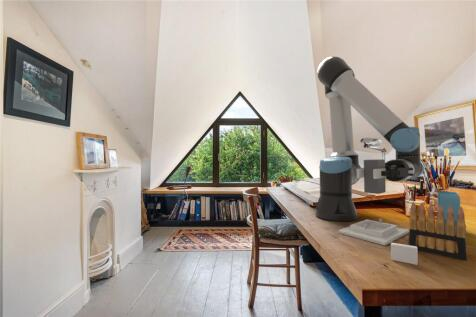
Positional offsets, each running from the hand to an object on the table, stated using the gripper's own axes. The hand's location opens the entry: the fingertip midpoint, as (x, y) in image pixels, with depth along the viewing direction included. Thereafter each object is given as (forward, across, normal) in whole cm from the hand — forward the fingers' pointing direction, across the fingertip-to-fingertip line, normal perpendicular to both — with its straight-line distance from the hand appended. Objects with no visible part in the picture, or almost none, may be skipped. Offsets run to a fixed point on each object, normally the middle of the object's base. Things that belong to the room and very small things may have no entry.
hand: (366, 173), depth 68 cm
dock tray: (-5, +1, -18) cm, 19 cm away
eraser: (+10, -12, -19) cm, 25 cm away
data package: (-24, -13, -19) cm, 34 cm away
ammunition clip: (-1, -15, -19) cm, 24 cm away
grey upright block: (-5, 0, -6) cm, 8 cm away
